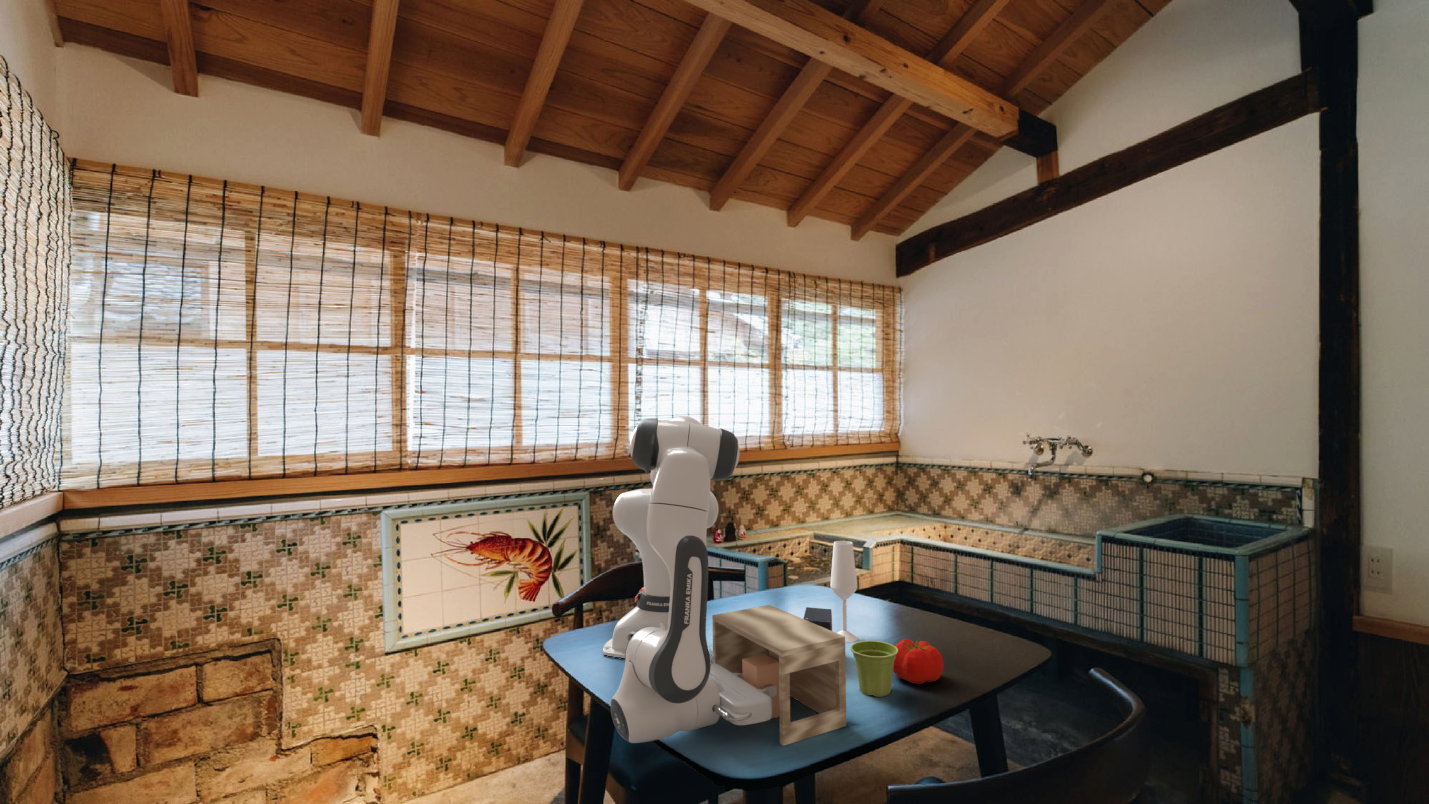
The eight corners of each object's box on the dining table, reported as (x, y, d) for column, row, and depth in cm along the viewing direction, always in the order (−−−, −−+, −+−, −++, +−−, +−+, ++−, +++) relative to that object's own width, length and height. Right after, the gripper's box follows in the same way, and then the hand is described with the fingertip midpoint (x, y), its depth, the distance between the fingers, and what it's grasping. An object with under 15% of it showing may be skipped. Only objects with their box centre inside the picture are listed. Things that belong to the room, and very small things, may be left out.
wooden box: (783, 745, 112) (782, 650, 112) (713, 695, 133) (712, 615, 133) (846, 725, 119) (845, 636, 119) (770, 680, 140) (769, 604, 140)
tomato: (954, 685, 136) (953, 649, 137) (908, 692, 133) (907, 654, 133) (924, 667, 147) (923, 633, 147) (880, 672, 143) (880, 638, 144)
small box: (831, 668, 146) (831, 621, 146) (802, 667, 147) (801, 619, 148) (833, 652, 156) (832, 607, 157) (805, 650, 158) (804, 606, 158)
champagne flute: (857, 634, 169) (856, 540, 170) (858, 642, 162) (857, 545, 163) (831, 632, 170) (829, 539, 171) (831, 641, 164) (829, 544, 164)
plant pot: (870, 704, 128) (869, 659, 128) (842, 686, 136) (841, 644, 136) (908, 696, 131) (907, 652, 132) (879, 679, 140) (878, 637, 140)
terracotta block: (757, 722, 120) (756, 667, 121) (742, 712, 125) (742, 658, 125) (779, 716, 123) (779, 662, 123) (764, 706, 127) (764, 654, 128)
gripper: (730, 703, 109) (797, 685, 116) (675, 663, 126) (736, 650, 133) (731, 742, 108) (798, 721, 115) (675, 697, 126) (736, 681, 133)
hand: (764, 683), depth 124 cm, fingers closed on terracotta block, 5 cm apart
